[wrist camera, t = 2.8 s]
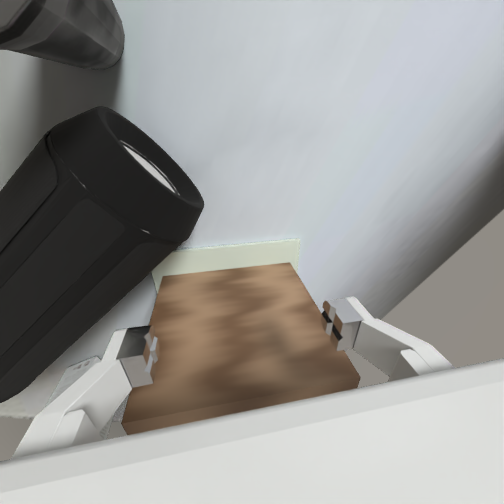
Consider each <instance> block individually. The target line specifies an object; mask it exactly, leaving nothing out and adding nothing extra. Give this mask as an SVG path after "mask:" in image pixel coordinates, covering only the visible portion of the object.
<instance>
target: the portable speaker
mask: <svg viewBox="0 0 504 504" xmlns="http://www.w3.org/2000/svg"><path fill="white" fill-rule="evenodd" d="M203 208H204V201H203V198H202V196H201V194H200V192H199V191H198V189H197V188H196V186H195V185H194V184H193V182H192V181H191V180H190V178H189V177H188V176H187V175H186V173H185V172H184V171H183V170H182V169H181V168H180V167H179V165H178V164H177V163H176V162H175V161H174V160H173V159H172V158H171V157H170V156H169V155H168V154H167V153H166V152H165V151H164V150H163V149H162V148H161V147H160V146H159V145H158V144H157V143H155V142H154V141H153V140H152V139H151V138H150V137H149V136H148V135H146V134H145V133H144V132H143V131H142V130H140V129H139V128H138V127H137V126H135V125H134V124H133V123H131V122H130V121H129V120H127V119H126V118H124V117H123V116H121V115H120V114H118V113H116V112H115V111H113V110H111V109H109V108H106V107H96V108H93V109H91V110H89V111H87V112H84V113H82V114H80V115H78V116H75V117H73V118H71V119H68V120H66V121H64V122H62V123H59V124H57V125H56V126H54V127H53V128H52V129H51V130H50V131H48V132H47V133H46V134H45V135H44V137H43V138H42V139H41V140H40V142H39V143H38V144H37V145H36V147H35V148H34V149H33V151H32V152H31V153H30V154H29V156H28V157H27V158H26V159H25V161H24V162H23V163H22V164H21V166H20V167H19V168H18V170H17V171H16V172H15V173H14V175H13V176H12V177H11V178H10V180H9V181H8V182H7V184H6V185H5V186H4V187H3V189H2V190H1V191H0V403H2V402H4V401H6V400H8V399H10V398H12V397H13V396H15V395H17V394H18V393H20V392H21V391H22V390H24V389H25V388H26V387H27V386H29V385H30V384H31V383H32V382H33V381H34V380H35V378H36V377H37V376H39V375H40V374H41V373H42V372H43V371H44V370H45V369H46V368H47V367H48V366H49V365H50V364H52V363H53V362H54V361H55V360H56V359H57V358H58V357H59V356H60V355H61V354H62V353H63V352H65V351H66V350H67V349H68V348H69V347H70V346H71V345H72V344H73V343H74V342H75V341H76V340H78V339H79V338H80V337H81V336H82V335H83V334H84V333H85V332H86V331H87V330H88V329H89V328H90V327H92V326H93V325H94V324H95V323H96V322H98V321H99V320H100V319H101V318H102V317H103V316H104V315H105V314H106V313H107V312H108V311H109V310H110V309H111V308H112V307H113V306H114V305H115V304H116V303H118V302H119V301H120V300H121V299H122V298H123V297H124V296H125V295H126V294H127V293H128V292H129V291H131V290H132V289H133V288H134V287H135V286H136V285H137V284H138V283H139V282H140V281H141V280H142V279H144V278H145V277H146V276H147V275H148V274H149V273H150V272H151V271H152V270H153V269H154V268H155V267H157V266H158V265H159V264H160V263H161V262H162V261H163V260H164V259H165V258H166V257H167V256H168V255H169V254H171V253H172V252H173V251H174V250H175V249H176V248H177V247H178V246H179V245H180V244H181V243H182V242H184V241H185V240H187V239H188V238H189V236H190V235H191V233H192V231H193V229H194V226H195V224H196V222H197V220H198V218H199V216H200V214H201V212H202V210H203Z"/></svg>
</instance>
